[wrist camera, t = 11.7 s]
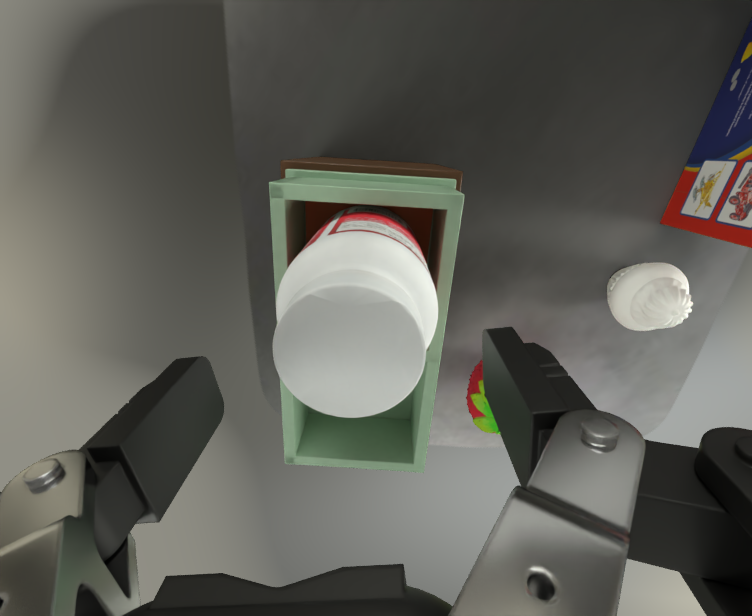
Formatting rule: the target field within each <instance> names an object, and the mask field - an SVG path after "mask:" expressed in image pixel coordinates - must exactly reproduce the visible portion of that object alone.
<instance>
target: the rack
mask: <svg viewBox="0 0 752 616" xmlns="http://www.w3.org/2000/svg"><path fill="white" fill-rule="evenodd" d="M280 163H281V179H280V180H276V181H273V182H269V193H270V209H271V227H272V245H273V262H274V280H275V298H276V300H277V293H278V289H279V286H280V283H281V280H282V278H283V276H284V274H285V272H286V270H287V269H288V267H289V265H290V264H291V263H292V261H293V260H294V259H295V257H296V256H297V255H298V254H299V253H300V252H301V250H302V249H303V248H304V247H305V246H306V245H307V243H308V242H309V241H310V240H311V239H312V237H313V236H314V235H315V234H316V233H317V231H318V230H319V229H320V228H321V227H322V225H323V224H324V223H325V222H326V221H327V220H328V219H330V218H331V217H332V216H333V215H335V214H336V213H338V212H340V211H342V210H344V209H347V208H349V207H353V206H358V205H373V206H378V207H382V208H385V209H388V210H390V211H392V212H393V213H395V214H397V215H398V216H399V217H401V218H402V219H403V220H404V221H405V222H406V223H407V224H408V225H409V227H410V228H411V229H412V231H413V232H414V234H415V236H416V238H417V241H418V243H419V245H420V248H421V251H422V253H423V256H424V258H425V261H426V264H427V267H428V270H429V272H430V275H431V278H432V280H433V283H434V285H435V290H436V295H437V300H438V320H437V325H436V330H435V333H434V336H433V338H432V341H431V343H430V345H429V346H428V348H427V350H426V360H425V366H424V369H423V372H422V375H421V377H420V379H419V381H418V383H417V385H416V386H415V387H414V389H413V390H412V391H411V392H410V394H409V395H408V396H407V397H406V398H404V399H403V400H402V401H401V402H400V403H398V404H397V405H395V406H393V407H392V408H390V409H388V410H386V411H383V412H381V413H378V414H375V415H372V416H366V417H359V418H345V417H337V416H332V415H328V414H324V413H322V412H319V411H317V410H315V409H312V408H311V407H309V406H307V405H305V404H304V403H303V402H301V401H300V400H299V399H297V398H296V397H295V396H294V395H293V394H292V393H291V392H290V391H289V390H288V389H287V387H286V386H285V384H284V383H283V381H282V380H281V378H280V386H281V404H282V420H283V421H282V422H283V440H284V457H285V464H300V465H315V466H331V467H346V468H347V467H348V468H361V469H377V470H392V471H408V472H409V471H410V472H420V473H424V468H425V461H426V454H427V448H428V441H429V434H430V427H431V421H432V414H433V407H434V400H435V393H436V387H437V380H438V373H439V366H440V359H441V353H442V346H443V339H444V332H445V325H446V319H447V312H448V305H449V298H450V291H451V285H452V278H453V271H454V264H455V257H456V251H457V244H458V237H459V230H460V223H461V217H462V210H463V203H464V196H465V195H464V194H462V193H461V192H460V190H461V183H462V176H463V172H462V171H459V170H455V169H451V168H448V167H444V166H441V165H437V164H426V163H410V162H394V161H378V160H362V159H346V158H330V157H312V158H301V159H290V160H281V161H280ZM276 316H277V315H276ZM277 324H278V322H277Z"/></svg>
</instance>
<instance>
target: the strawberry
mask: <svg viewBox="0 0 752 616" xmlns="http://www.w3.org/2000/svg"><path fill="white" fill-rule="evenodd" d="M470 376H471V378H470V379H469V380H470V383H469V384H468V385H469V388H468V389H467V390H468V394H467V397H466V399H467V402H468V403H467V405H468V408H469V412H470V413H471V415H472V417H473V422H474V424H475V425H476V426H477V427H478V428H480V429H481V430H482V431H484V432H487V433H496V434H500V431H499V429H498V426H497V424H496V421H495V419H494V416H493V414H492V411H491V409H490V406H489V404H488V401H487V399H486V395H485V391H484V385H483V361H482V360H481V361H480V363H479V364H478V365H477V366H476V367H475V369H474V371H473V372H472V375H470Z"/></svg>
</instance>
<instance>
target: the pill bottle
mask: <svg viewBox="0 0 752 616" xmlns="http://www.w3.org/2000/svg"><path fill="white" fill-rule="evenodd" d="M276 315H277V322H278V324H277V326H276V329H275V333H274V338H273V359H274V363H275V367H276V369H277V372H278V374H279V376H280V378H281V380H282V381H283V383H284V384H285V386H286V387H287V389H288V390H289V391H290V392H291V393H292V394H293V395H294V396H295V397H296V398H297V399H299V400H300V401H301V402H303V403H304V404H305V405H307V406H309V407H311V408H312V409H315V410H317V411H319V412H322V413H324V414H328V415H332V416H337V417H345V418H359V417H366V416H372V415H375V414H378V413H381V412H383V411H386V410H388V409H390V408H392V407H393V406H395V405H397V404H398V403H400V402H401V401H402V400H403V399H404V398H406V397H407V396H408V395H409V394H410V392H411V391H412V390H413V389H414V387H415V386H416V385H417V383H418V381H419V379H420V377H421V375H422V372H423V369H424V366H425V360H426V350H427V348H428V346H429V345H430V343H431V341H432V338H433V336H434V333H435V330H436V325H437V320H438V300H437V295H436V290H435V285H434V283H433V280H432V278H431V275H430V272H429V270H428V267H427V264H426V261H425V258H424V256H423V253H422V251H421V248H420V245H419V243H418V241H417V238H416V236H415V234H414V232H413V231H412V229H411V228H410V227H409V225H408V224H407V223H406V222H405V221H404V220H403V219H402V218H401V217H399V216H398V215H397V214H395V213H393V212H392V211H390V210H388V209H385V208H382V207H378V206H373V205H358V206H353V207H349V208H347V209H344V210H342V211H340V212H338V213H336V214H335V215H333V216H332V217H331V218H330V219H328V220H327V221H326V222H325V223H324V224H323V225H322V227H321V228H320V229H319V230H318V231H317V233H316V234H315V235H314V236H313V237H312V239H311V240H310V241H309V242H308V243H307V245H306V246H305V247H304V248H303V249H302V250H301V252H300V253H299V254H298V255H297V256H296V257H295V259H294V260H293V261H292V263H291V264H290V265H289V267H288V269H287V270H286V272H285V274H284V276H283V278H282V280H281V283H280V286H279V289H278V293H277V300H276Z"/></svg>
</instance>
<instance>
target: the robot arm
mask: <svg viewBox="0 0 752 616" xmlns="http://www.w3.org/2000/svg"><path fill="white" fill-rule="evenodd" d="M482 352H483V385H484V391H485V395H486V399H487V401H488V404H489V406H490V409H491V411H492V414H493V416H494V419H495V421H496V424H497V426H498V429H499V431H500V434H501V436H502V439H503V442H504V444H505V447H506V449H507V451H508V454H509V457H510V459H511V461H512V464H513V467H514V469H515V472H516V474H517V477H518V479H519V482H520V484H521V486H516V487H515V488H514V489H513V491H512V492H511V494H510V496H509V498H508V499H507V501H506V503H505V505H504V507H503V510H502V511H501V513H500V515H499V517H498V519H497V521H496V523H495V525H494V527H493V529H492V531H491V533H490V535H489V537H488V539H487V541H486V543H485V545H484V547H483V549H482V551H481V552H480V554H479V556H478V559H477V561H476V562H475V565H474V566H473V568H472V570H471V572H470V574H469V576H468V578H467V580H466V582H465V584H464V586H463V588H462V590H461V592H460V594H459V596H458V598H457V600H456V602H455V604H454V605H453V607H452V606H451V605H450V604H448V603H447V602H445V601H443V600H441V599H440V598H438V597H436V596H435V595H432V594H430V593H427V592H425V591H423V590H420V589H417V588H413V587H409V586H407V585H406V578H405V571H404V565H403V564H393V565H374V566H356V567H342V568H339V569H336V570H332V571H329V572H326V573H324V574H320V575H317V576H314V577H311V578H308V579H305V580H302V581H299V582H296V583H293V584H289V585H286V586H283V587H270V586H266V585H263V584H259V583H256V582H252V581H248V580H245V579H241V578H238V577H234V576H230V575H227V574H223V573H218V574H197V575H177V576H166V577H165V579H164V581H163V583H162V585H161V587H160V589H159V591H158V593H157V595H156V596H155V599H154V600H153V601H151V602H149V603H146V604H144V605H142V606H141V604H140V593H139V581H138V570H137V559H136V548H135V541H134V538H133V537H132V535H131V533H130V531H131V530H132V528H133V527H134V525H135V524H139V523H155V522H160V520H161V518H162V517H163V515H164V514H165V512H166V510H167V509H168V507H169V505H170V504H171V502H172V501H173V499H174V497H175V496H176V494H177V492H178V491H179V489H180V487H181V486H182V484H183V482H184V481H185V479H186V478H187V476H188V474H189V473H190V471H191V469H192V467H193V466H194V464H195V463H196V461H197V459H198V458H199V456H200V455H201V453H202V451H203V450H204V448H205V446H206V445H207V443H208V442H209V440H210V438H211V437H212V435H213V433H214V432H215V430H216V428H217V427H218V425H219V424H220V422H221V420H222V417H223V413H224V402H223V398H222V395H221V392H220V390H219V387H218V384H217V381H216V379H215V375H214V373H213V370H212V367H211V365H210V362H209V360H208V359H207V358H206V357H203V356H201V357H191V358H181V359H176V360H175V361H173V362H172V364H170V365H169V366H168V367H167V368H166V369H165V370H164V371H163V372H162V373H161V374H160V375H159V376H158V377H157V378H156V380H154V381H153V382H151V383H150V384H148V385H147V386H145V387H143V388H142V389H141V390H140V391H139V392H138V393H137V394H136V395H135V396H134V397H133V398H132V399H130V401H129V403H126V405H124V407H122V408H121V409H120V410H119V411H118V414H115V415H114V416H113V417H112V418H111V419H110V420H109V421H108V422H107V423H106V424H105V425H104V426H103V427H102V428H101V429H100V430H99V431H98V432H97V433H96V434H95V435H94V436H93V437H92V438H90V439H89V441H87V442H86V444H85V445H83V446H82V447H81V448H80V449H79V450H68V451H62V452H59V453H56V454H53V455H51V456H48V457H46V458H44V459H41V460H40V461H38V462H36V463H34V464H32V465H31V466H29V467H27V468H26V469H24V470H23V471H22V472H20V473H19V474H18V475H16V476H15V477H14V478H13V479H12V480H11V481H10V482H9V483H8V484H7V485H6V486H5V488H4V489H3V491H2V492H0V616H617V609H618V604H619V599H620V593H621V588H622V581H623V577H624V571H625V565H626V560H627V559H632V560H635V561H639V562H643V563H647V564H651V565H655V566H659V567H663V568H667V569H670V570H675V571H678V572H680V574H681V575H682V577H683V579H684V580H685V582H686V583H687V585H688V586H689V588H690V590H691V591H692V593H693V594H694V596H695V597H696V599H697V601H698V602H699V604H700V606H701V607H702V609H703V610H704V612H705V614H706V615H707V616H752V430H747V429H742V428H734V427H722V428H715V429H712V430H709V431H707V432H706V433H705V434H704V435H703V437H702V439H701V442H700V446H699V448H693V447H686V446H680V445H673V444H666V443H660V442H654V441H649V440H645V439H643V437H642V435H641V434H640V432H639V431H638V430H637V429H636V428H635V427H634V426H633V425H631V424H630V423H628V422H627V421H625V420H623V419H622V418H620V417H618V416H615V415H613V414H610V413H607V412H603V411H599V410H597V409H596V408H595V407H594V405H593V404H592V403H591V402H590V400H589V399H588V398H587V397H586V395H585V394H584V393H583V392H582V390H581V389H580V388H579V387H578V385H577V384H576V383H575V382H574V380H573V379H572V378H571V377H570V376H568V373H567V372H566V371H565V369H564V368H563V367H562V366H560V363H559V362H558V361H557V359H556V358H555V357H554V356H553V354H552V353H551V352H550V351H548V350H547V349H545V348H543V347H541V346H540V345H538V344H536V343H523V341H522V340H521V339H520V337H519V336H518V334H517V333H516V332H515V330H514V329H513V328H512V327H504V328H494V329H484V330H483V335H482Z"/></svg>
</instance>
